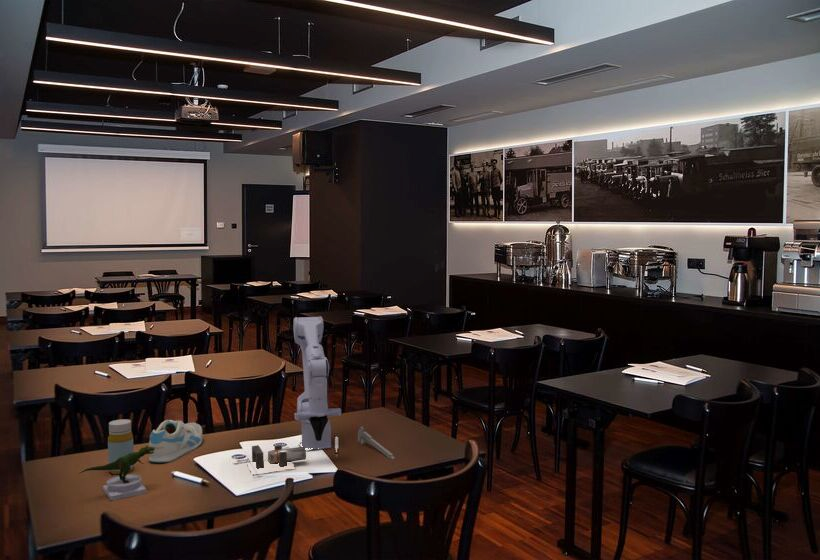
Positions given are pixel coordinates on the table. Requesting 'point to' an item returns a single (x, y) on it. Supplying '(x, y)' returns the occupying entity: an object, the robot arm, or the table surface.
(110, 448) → the bottle
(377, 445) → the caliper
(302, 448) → the tube
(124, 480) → the dinosaur figurine
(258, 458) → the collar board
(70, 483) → the table surface
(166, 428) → the sneaker
